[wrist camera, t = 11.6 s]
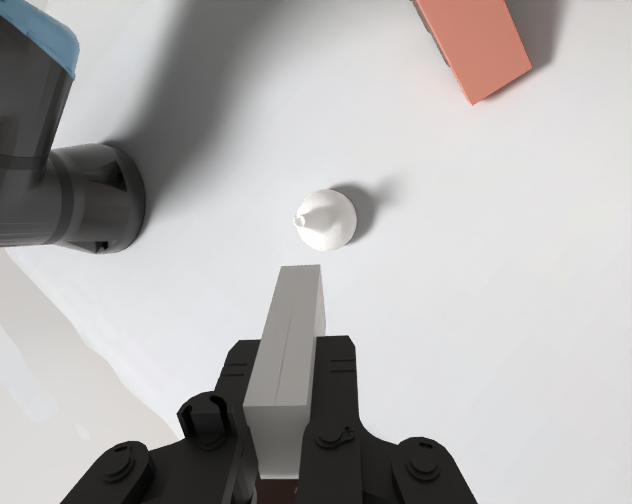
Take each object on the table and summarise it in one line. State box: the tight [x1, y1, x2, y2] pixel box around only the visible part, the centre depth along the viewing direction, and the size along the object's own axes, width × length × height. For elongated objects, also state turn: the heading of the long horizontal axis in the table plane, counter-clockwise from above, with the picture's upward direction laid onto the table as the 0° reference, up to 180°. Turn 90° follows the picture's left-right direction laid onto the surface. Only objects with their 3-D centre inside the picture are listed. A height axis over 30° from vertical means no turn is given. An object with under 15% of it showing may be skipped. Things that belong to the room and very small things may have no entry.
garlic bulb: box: [293, 190, 357, 251], centre depth 37 cm, size 6×6×8 cm
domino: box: [416, 0, 532, 106], centre depth 31 cm, size 2×5×10 cm
